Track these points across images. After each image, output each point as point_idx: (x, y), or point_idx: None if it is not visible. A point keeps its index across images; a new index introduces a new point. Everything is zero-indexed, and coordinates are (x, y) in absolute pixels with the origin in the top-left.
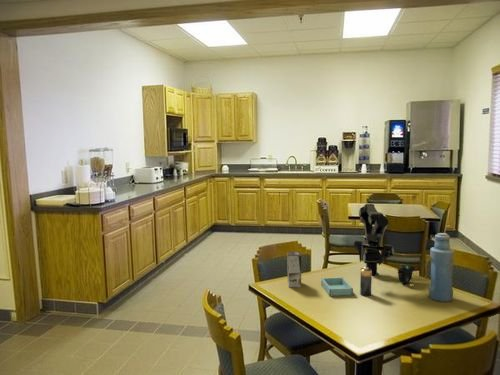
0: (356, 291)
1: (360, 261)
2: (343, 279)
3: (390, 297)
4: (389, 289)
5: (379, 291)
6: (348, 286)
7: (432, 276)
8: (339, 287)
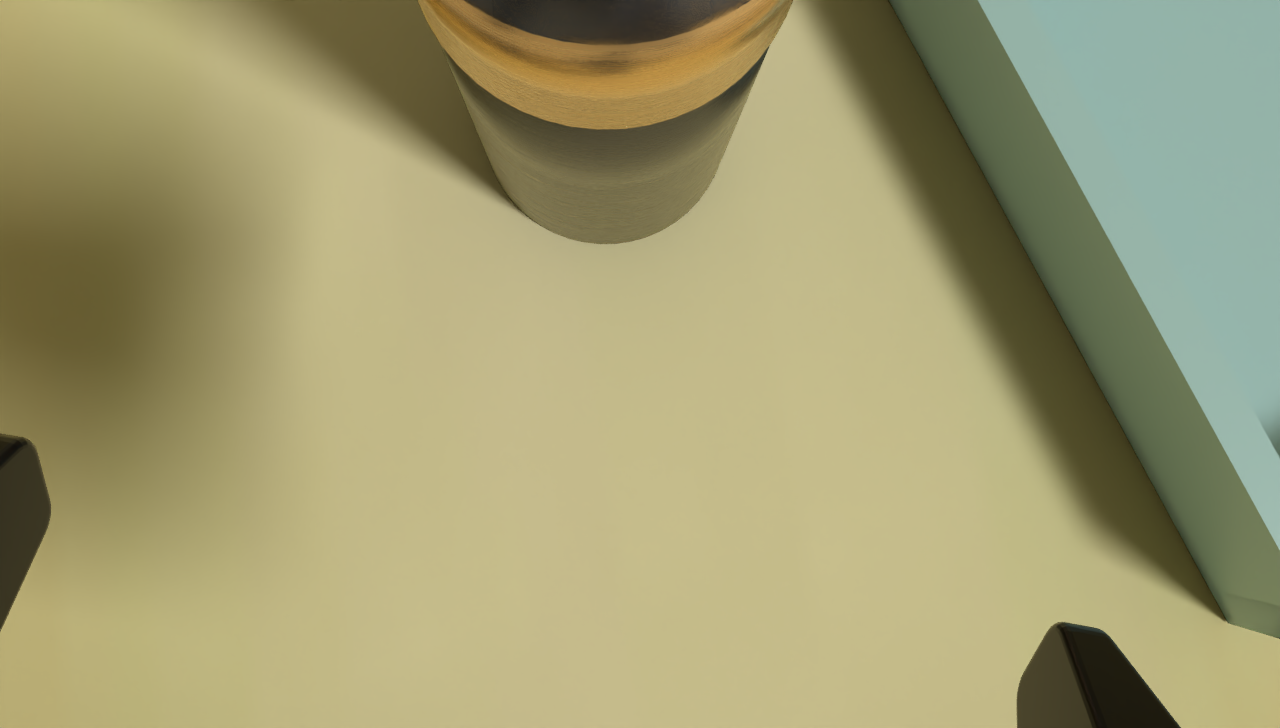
0: (829, 239)
1: (1042, 650)
2: (1278, 474)
3: (64, 140)
4: (116, 675)
5: (331, 440)
6: (1038, 46)
7: None
8: (1241, 265)
